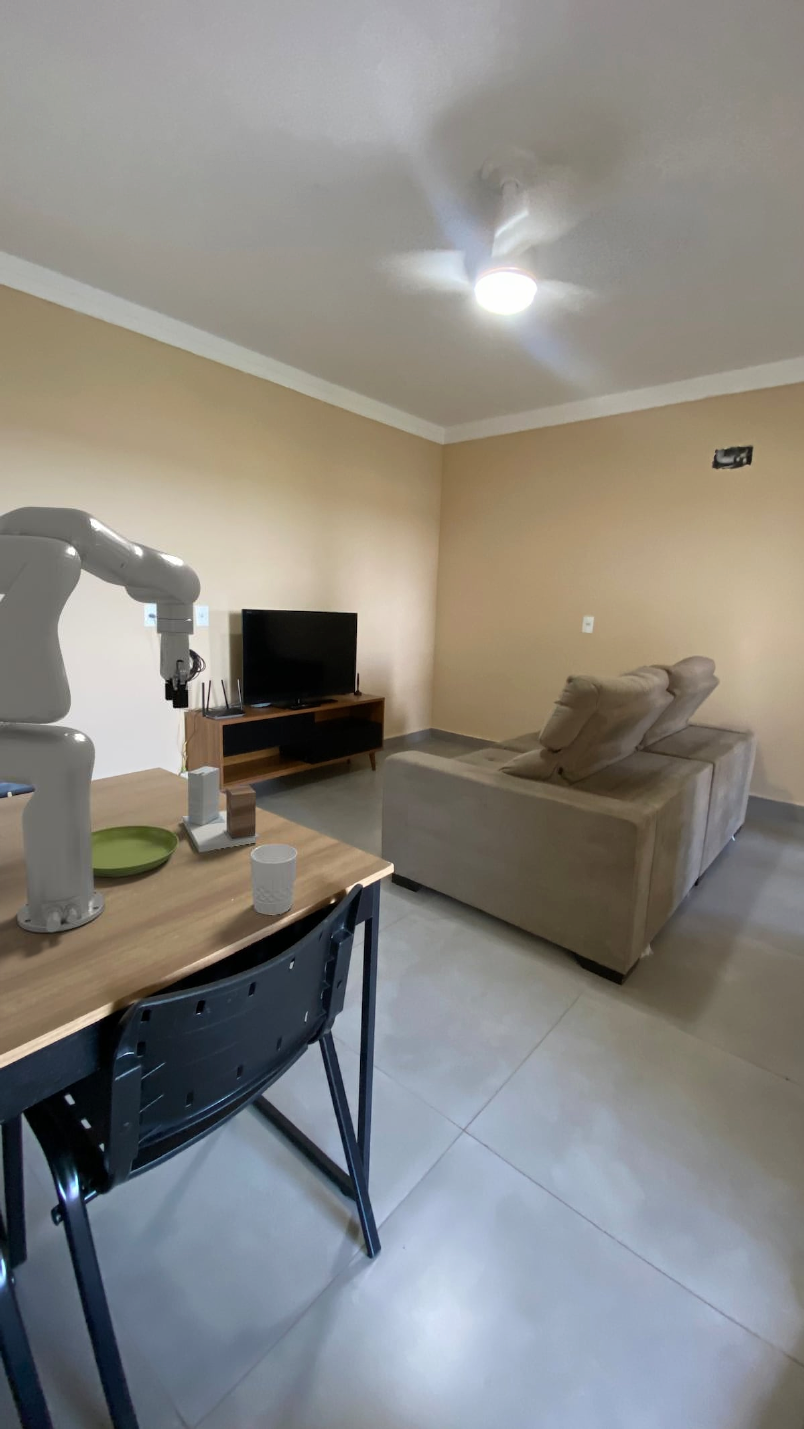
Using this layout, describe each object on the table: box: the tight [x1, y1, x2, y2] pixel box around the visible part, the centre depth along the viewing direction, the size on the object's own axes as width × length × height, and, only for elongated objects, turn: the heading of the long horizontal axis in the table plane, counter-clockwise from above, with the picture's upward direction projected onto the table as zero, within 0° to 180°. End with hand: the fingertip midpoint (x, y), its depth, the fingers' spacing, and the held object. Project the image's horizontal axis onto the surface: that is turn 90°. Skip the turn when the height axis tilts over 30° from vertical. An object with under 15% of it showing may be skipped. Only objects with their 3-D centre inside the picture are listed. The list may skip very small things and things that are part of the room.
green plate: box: [91, 825, 180, 878], centre depth 118 cm, size 21×21×3 cm
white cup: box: [250, 843, 298, 916], centre depth 103 cm, size 8×8×10 cm
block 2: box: [226, 810, 257, 839], centre depth 130 cm, size 5×5×5 cm
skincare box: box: [187, 765, 220, 825], centre depth 135 cm, size 6×4×12 cm
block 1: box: [225, 784, 257, 817], centre depth 129 cm, size 5×5×5 cm
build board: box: [182, 810, 261, 853], centre depth 134 cm, size 18×13×2 cm
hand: (176, 703), depth 132 cm, fingers open, 9 cm apart
